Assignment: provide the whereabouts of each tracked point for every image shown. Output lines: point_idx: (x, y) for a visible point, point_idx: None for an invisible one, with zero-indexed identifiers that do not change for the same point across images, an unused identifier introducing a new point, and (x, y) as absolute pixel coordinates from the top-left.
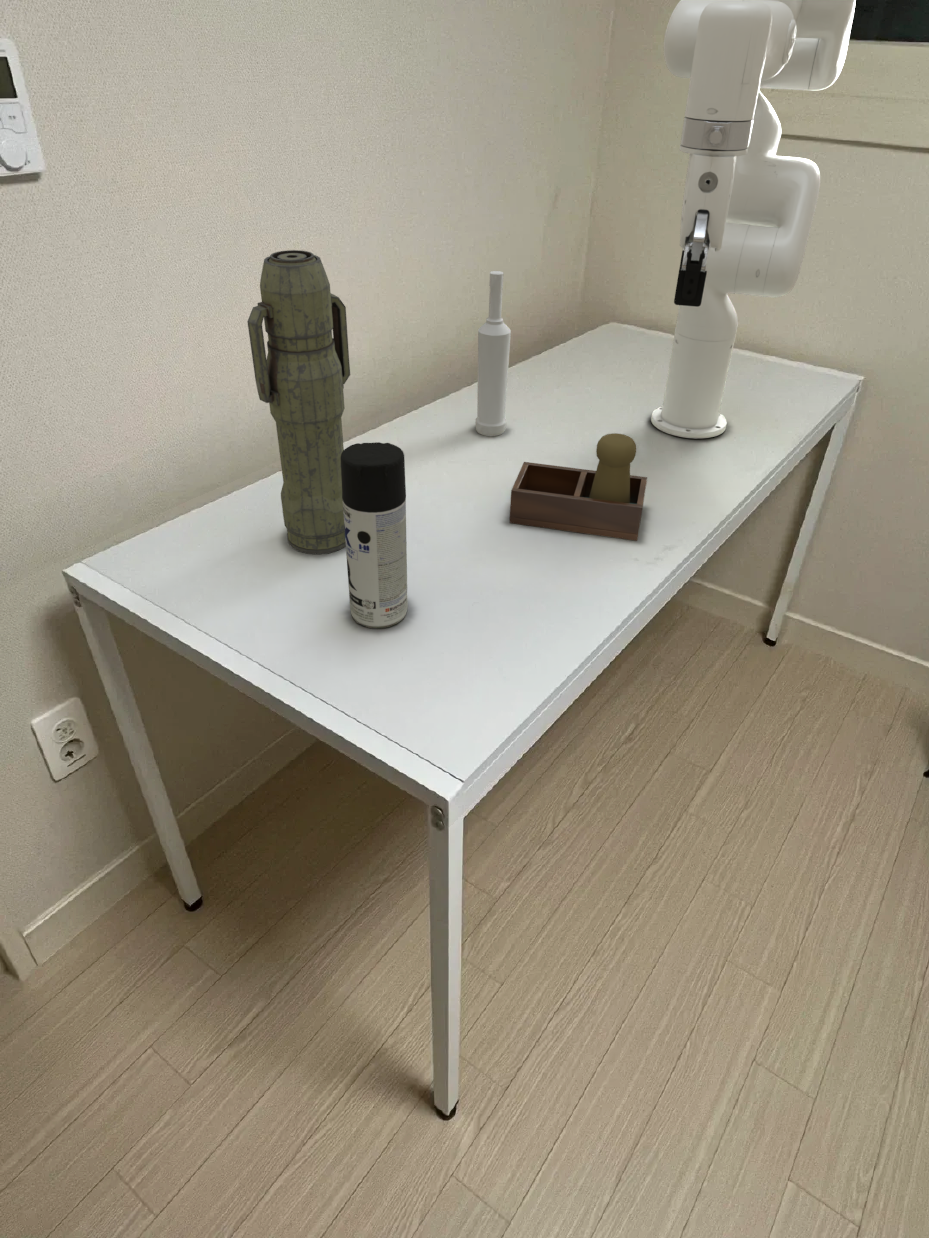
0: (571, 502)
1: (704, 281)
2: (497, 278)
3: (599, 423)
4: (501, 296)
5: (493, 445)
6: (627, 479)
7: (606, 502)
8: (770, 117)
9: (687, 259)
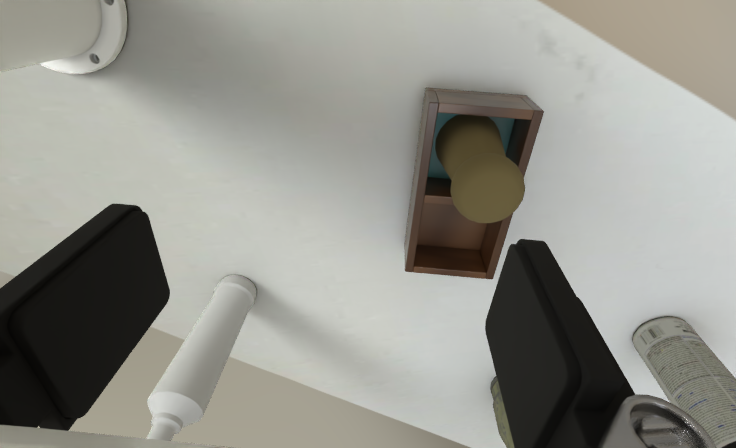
0: None
1: (594, 331)
2: None
3: (142, 158)
4: None
5: (280, 282)
6: (496, 146)
7: (525, 165)
8: None
9: (90, 370)
